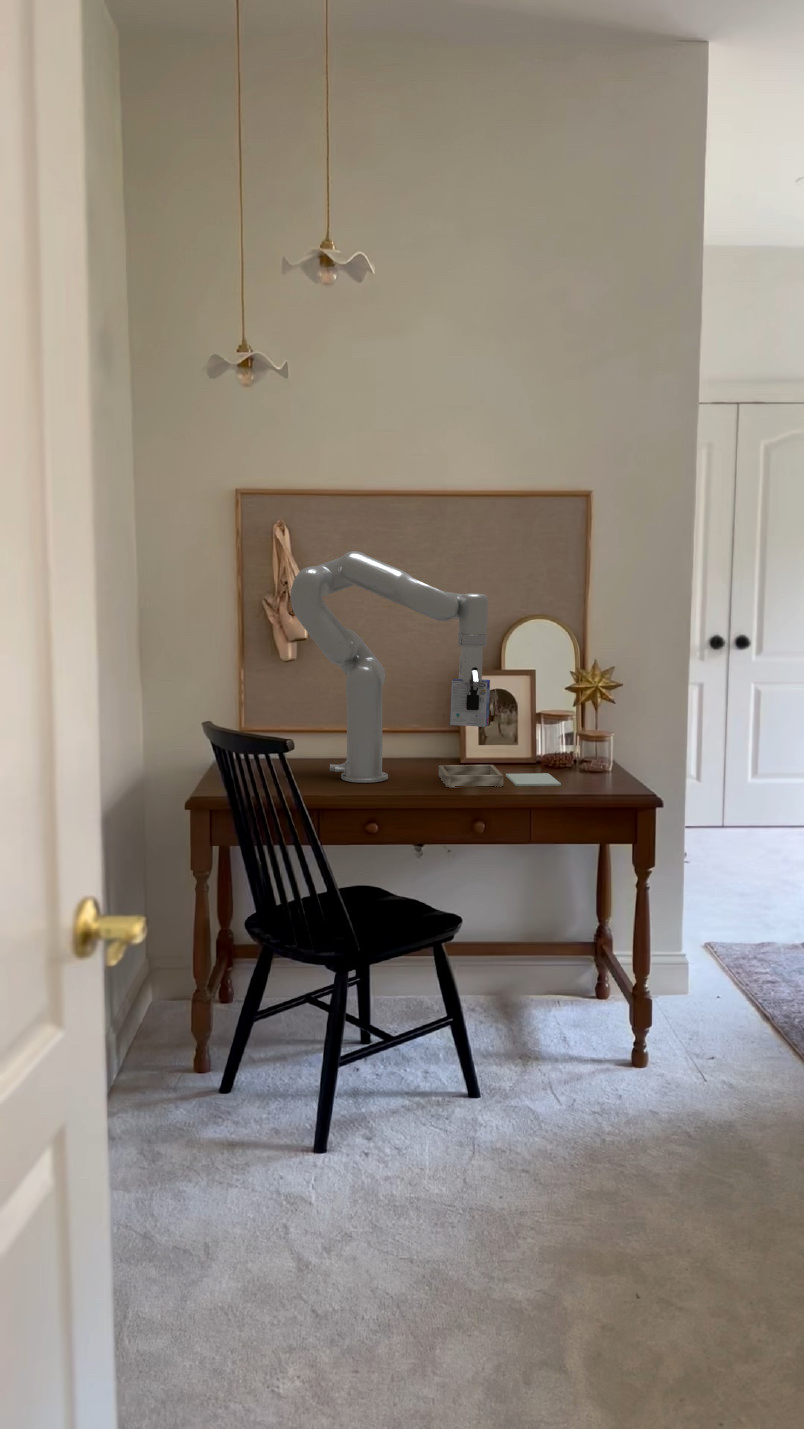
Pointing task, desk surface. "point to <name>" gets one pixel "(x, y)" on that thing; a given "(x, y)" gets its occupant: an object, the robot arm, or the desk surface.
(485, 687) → the ink cartridge box
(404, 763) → the desk surface
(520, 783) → the mat
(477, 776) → the holder
